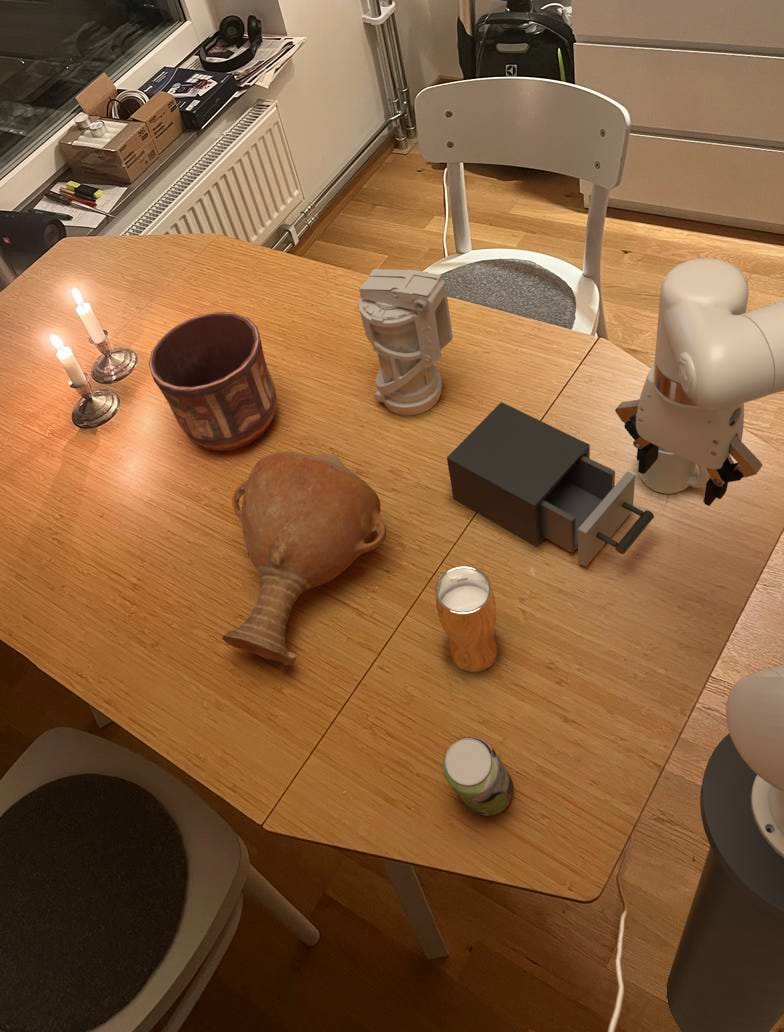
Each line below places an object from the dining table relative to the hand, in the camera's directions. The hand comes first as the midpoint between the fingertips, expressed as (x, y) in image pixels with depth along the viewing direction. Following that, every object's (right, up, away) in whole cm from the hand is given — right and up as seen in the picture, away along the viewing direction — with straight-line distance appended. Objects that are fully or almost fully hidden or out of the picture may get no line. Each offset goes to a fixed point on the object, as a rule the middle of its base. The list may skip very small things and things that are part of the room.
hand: (679, 480), depth 104 cm
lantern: (-24, +11, +45) cm, 52 cm away
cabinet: (-12, -3, +28) cm, 30 cm away
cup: (+9, -1, +24) cm, 25 cm away
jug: (-43, -16, +26) cm, 53 cm away
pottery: (-55, +7, +50) cm, 74 cm away
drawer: (-5, -7, +21) cm, 23 cm away
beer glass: (-21, -23, +13) cm, 34 cm away
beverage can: (-22, -37, +1) cm, 43 cm away
